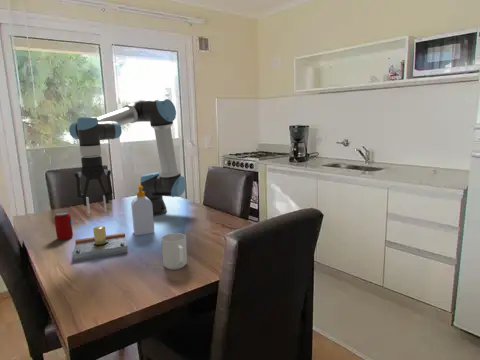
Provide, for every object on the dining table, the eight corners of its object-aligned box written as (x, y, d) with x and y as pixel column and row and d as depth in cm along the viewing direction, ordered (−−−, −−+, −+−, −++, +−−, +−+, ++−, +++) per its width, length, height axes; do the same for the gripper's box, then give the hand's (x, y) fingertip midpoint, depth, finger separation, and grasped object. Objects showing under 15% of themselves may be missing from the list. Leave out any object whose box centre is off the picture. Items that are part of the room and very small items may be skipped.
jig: (125, 241, 150) (124, 232, 149) (127, 252, 137) (126, 243, 136) (76, 248, 142) (75, 239, 142) (74, 261, 130) (72, 251, 129)
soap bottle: (152, 228, 166) (148, 183, 162) (154, 232, 160) (150, 186, 155) (133, 231, 163) (129, 185, 158) (135, 235, 156) (130, 188, 152)
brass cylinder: (107, 247, 143) (105, 225, 141) (107, 251, 138) (105, 228, 137) (96, 249, 141) (93, 227, 139) (95, 253, 137) (93, 230, 135)
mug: (160, 263, 126) (158, 236, 123) (182, 258, 130) (180, 231, 128) (170, 276, 115) (168, 246, 113) (194, 269, 120) (192, 240, 118)
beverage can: (76, 236, 158) (73, 211, 155) (64, 241, 151) (61, 216, 149) (65, 234, 160) (62, 210, 158) (53, 239, 154) (50, 214, 151)
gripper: (115, 153, 139) (121, 207, 143) (66, 156, 132) (73, 212, 136) (116, 155, 132) (121, 211, 136) (64, 158, 125) (71, 217, 130)
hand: (97, 212), depth 136 cm, fingers open, 6 cm apart
